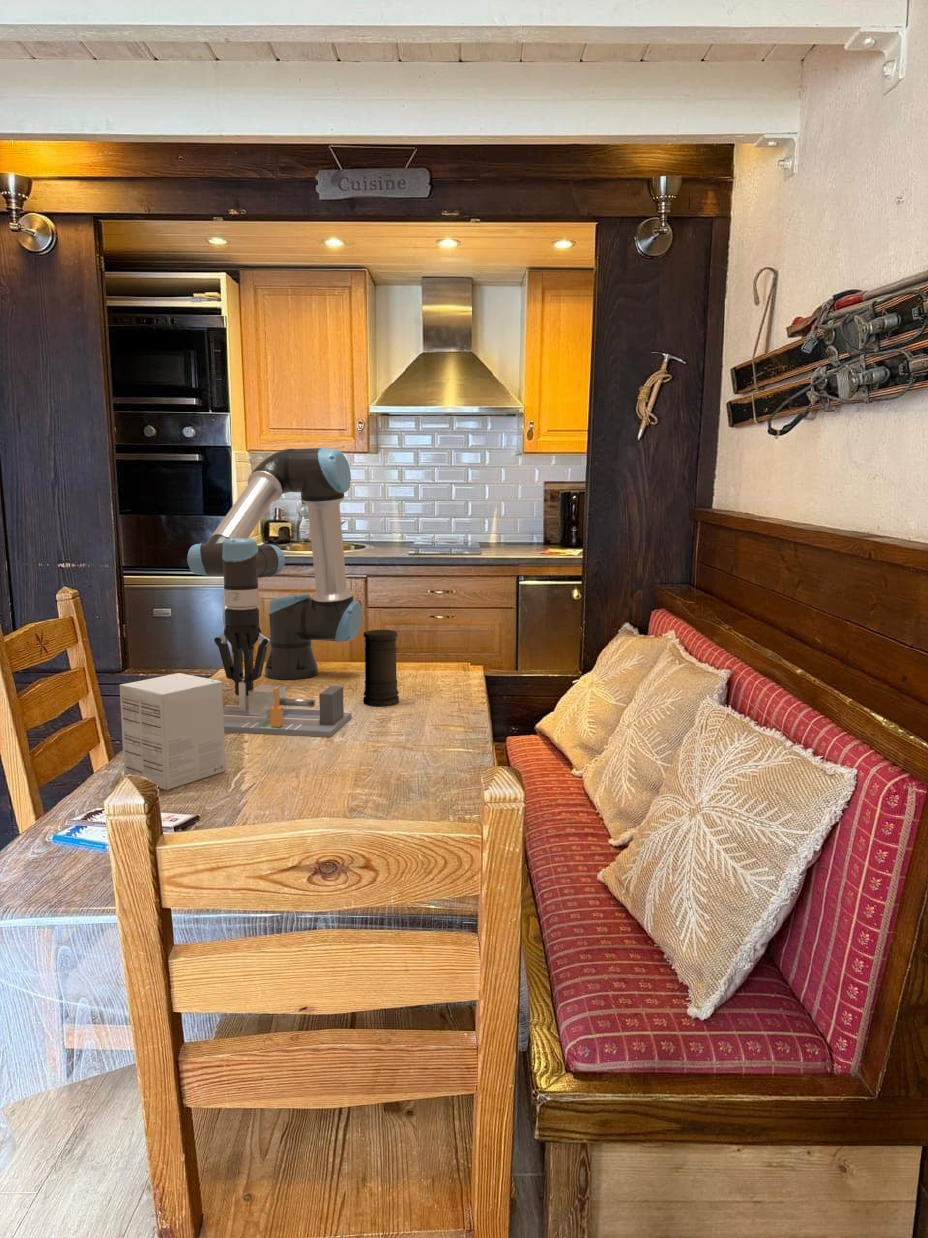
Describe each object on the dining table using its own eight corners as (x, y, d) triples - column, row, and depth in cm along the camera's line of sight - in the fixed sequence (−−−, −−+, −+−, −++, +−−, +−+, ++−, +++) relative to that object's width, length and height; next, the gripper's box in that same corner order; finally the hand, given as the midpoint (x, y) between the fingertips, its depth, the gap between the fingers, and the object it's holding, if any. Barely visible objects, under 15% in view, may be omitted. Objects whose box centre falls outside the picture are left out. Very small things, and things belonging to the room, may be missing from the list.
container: (401, 698, 215) (401, 629, 212) (395, 707, 206) (395, 635, 203) (367, 697, 216) (366, 628, 213) (359, 706, 207) (358, 634, 204)
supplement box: (183, 758, 165) (179, 671, 162) (227, 771, 157) (223, 680, 155) (122, 776, 154) (117, 684, 151) (166, 791, 147) (161, 694, 144)
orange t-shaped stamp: (274, 723, 185) (273, 686, 184) (283, 724, 185) (282, 686, 183) (270, 726, 182) (269, 688, 181) (279, 726, 182) (278, 689, 181)
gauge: (261, 711, 195) (260, 684, 194) (319, 714, 193) (318, 686, 192) (241, 724, 184) (240, 695, 183) (302, 727, 182) (301, 698, 181)
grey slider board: (222, 712, 200) (221, 678, 199) (351, 718, 195) (351, 683, 194) (191, 730, 185) (189, 694, 183) (330, 737, 180) (329, 700, 179)
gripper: (207, 608, 186) (210, 712, 189) (262, 610, 184) (265, 714, 187) (221, 604, 193) (225, 704, 196) (275, 605, 191) (277, 706, 194)
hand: (244, 709), depth 192 cm, fingers closed
